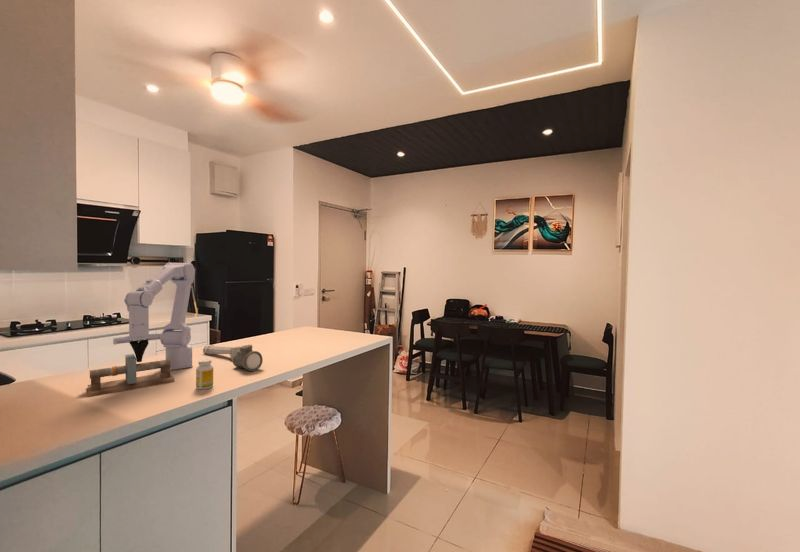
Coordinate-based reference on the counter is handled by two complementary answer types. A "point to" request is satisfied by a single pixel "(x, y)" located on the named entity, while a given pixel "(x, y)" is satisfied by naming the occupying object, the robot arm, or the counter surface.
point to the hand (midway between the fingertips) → (139, 361)
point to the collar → (130, 368)
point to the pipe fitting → (248, 358)
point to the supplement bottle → (204, 374)
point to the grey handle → (221, 350)
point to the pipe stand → (122, 385)
